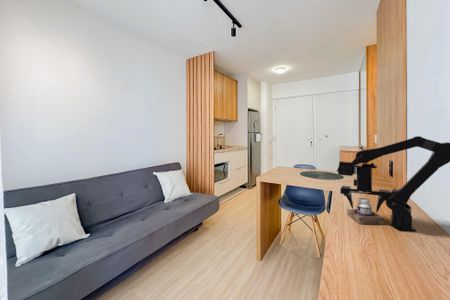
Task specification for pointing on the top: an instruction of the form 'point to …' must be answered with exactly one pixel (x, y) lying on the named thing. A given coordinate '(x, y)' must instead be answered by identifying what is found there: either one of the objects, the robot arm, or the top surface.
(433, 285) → the top surface
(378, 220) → the socket
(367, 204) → the pill bottle
